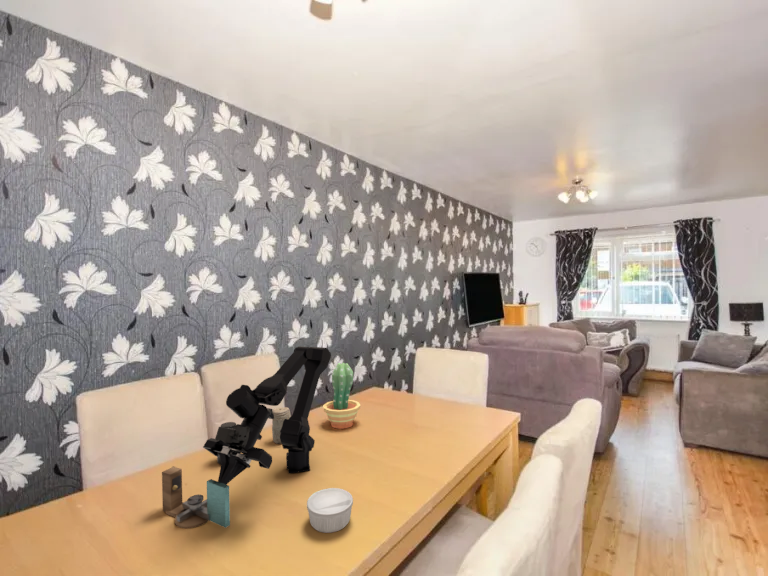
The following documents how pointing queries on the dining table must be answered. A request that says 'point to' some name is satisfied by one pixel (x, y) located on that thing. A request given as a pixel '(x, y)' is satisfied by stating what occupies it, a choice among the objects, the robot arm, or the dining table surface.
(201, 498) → the turnstile
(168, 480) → the stand
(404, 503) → the dining table surface
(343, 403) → the potted cactus
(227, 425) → the supplement bottle
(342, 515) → the ramekin
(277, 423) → the beige piece
